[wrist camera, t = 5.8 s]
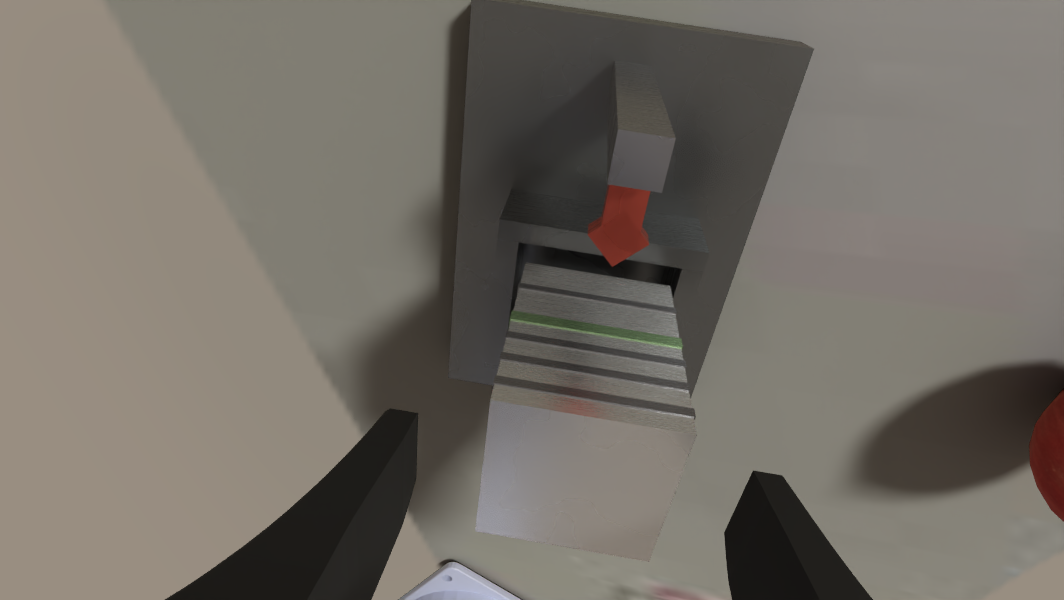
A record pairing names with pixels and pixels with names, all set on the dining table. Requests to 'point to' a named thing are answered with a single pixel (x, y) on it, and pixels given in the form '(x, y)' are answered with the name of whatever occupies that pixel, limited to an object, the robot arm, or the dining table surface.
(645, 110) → the jack base
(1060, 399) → the onion
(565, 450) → the column
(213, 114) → the dining table surface
